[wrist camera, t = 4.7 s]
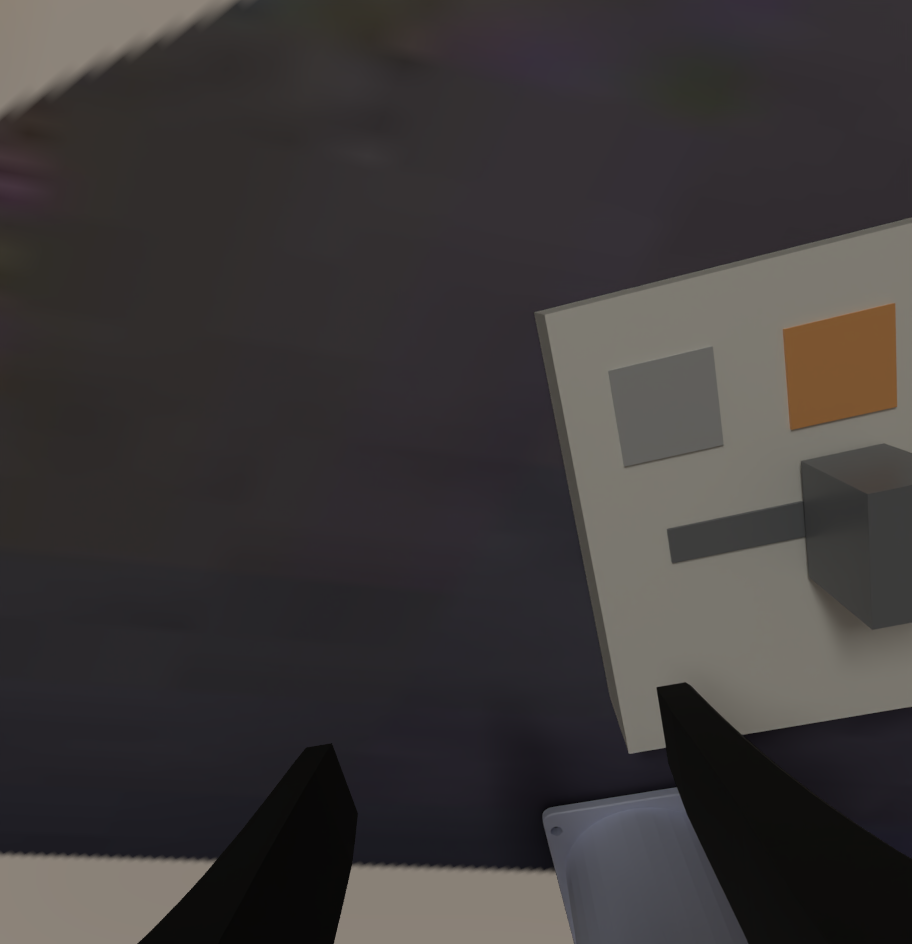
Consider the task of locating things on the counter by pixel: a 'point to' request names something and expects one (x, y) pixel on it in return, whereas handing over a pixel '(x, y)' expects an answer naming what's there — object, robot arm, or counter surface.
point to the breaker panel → (732, 475)
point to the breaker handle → (862, 531)
